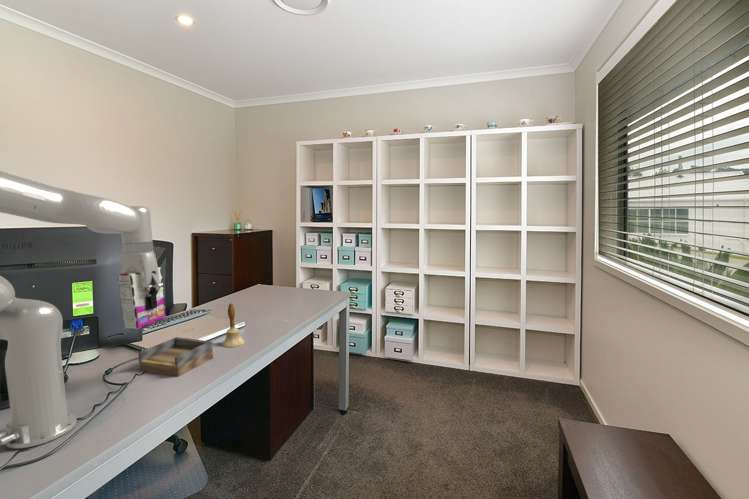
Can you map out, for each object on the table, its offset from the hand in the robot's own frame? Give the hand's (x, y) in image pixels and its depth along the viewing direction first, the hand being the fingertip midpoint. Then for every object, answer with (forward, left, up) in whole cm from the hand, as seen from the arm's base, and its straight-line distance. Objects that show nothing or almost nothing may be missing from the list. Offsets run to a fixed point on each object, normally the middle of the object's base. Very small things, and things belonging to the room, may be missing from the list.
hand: (144, 307), depth 110 cm
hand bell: (+34, -4, -23) cm, 41 cm away
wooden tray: (+12, +2, -23) cm, 26 cm away
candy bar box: (0, 0, -5) cm, 5 cm away
